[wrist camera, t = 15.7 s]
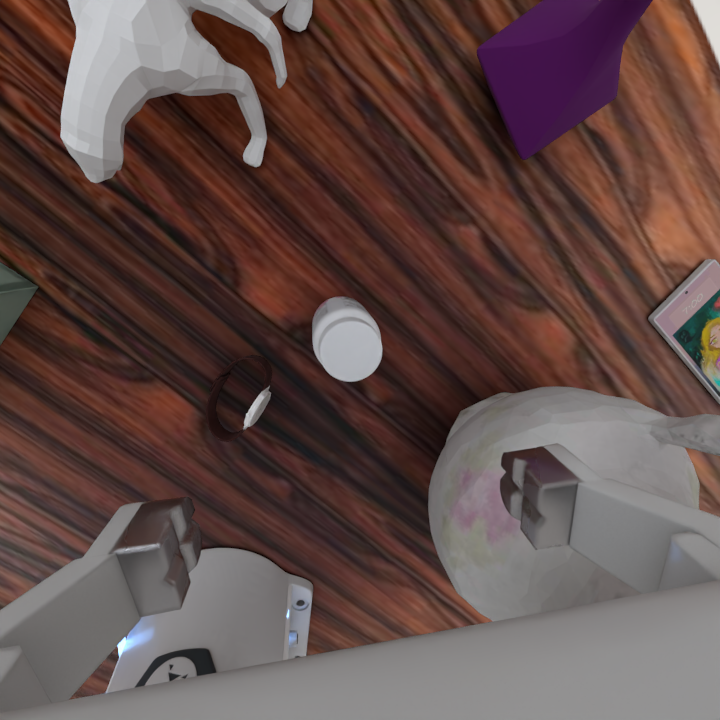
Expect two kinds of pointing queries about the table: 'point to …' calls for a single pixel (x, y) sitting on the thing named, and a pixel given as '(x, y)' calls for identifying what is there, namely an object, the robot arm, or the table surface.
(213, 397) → the watch
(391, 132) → the table surface
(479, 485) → the ceramic pitcher
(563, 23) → the perfume bottle
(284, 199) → the table surface
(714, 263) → the smartphone
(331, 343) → the pill bottle
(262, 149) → the white toy dinosaur
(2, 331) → the basket
